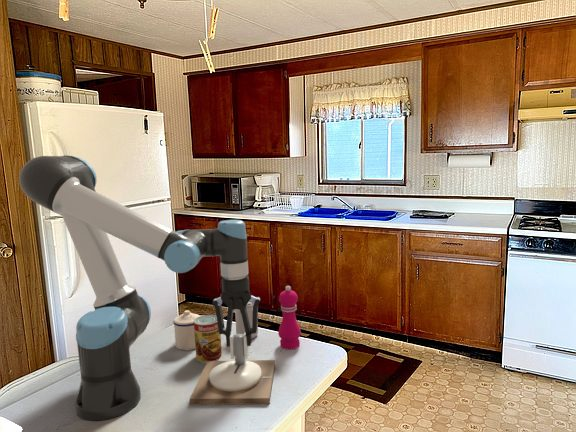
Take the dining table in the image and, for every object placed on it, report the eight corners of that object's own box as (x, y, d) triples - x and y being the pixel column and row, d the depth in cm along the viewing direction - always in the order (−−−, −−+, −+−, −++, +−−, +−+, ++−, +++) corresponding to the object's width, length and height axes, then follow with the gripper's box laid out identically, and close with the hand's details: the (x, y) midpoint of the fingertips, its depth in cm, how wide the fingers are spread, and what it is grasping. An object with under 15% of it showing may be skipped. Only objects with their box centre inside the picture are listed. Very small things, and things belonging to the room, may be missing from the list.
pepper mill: (299, 351, 134) (297, 289, 131) (276, 349, 135) (274, 288, 133) (302, 341, 141) (301, 282, 138) (281, 340, 142) (279, 282, 140)
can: (249, 342, 142) (247, 307, 140) (231, 337, 146) (230, 304, 144) (262, 334, 148) (261, 300, 146) (245, 330, 152) (243, 297, 150)
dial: (255, 392, 108) (253, 357, 107) (202, 390, 110) (200, 355, 109) (265, 366, 122) (264, 334, 120) (218, 364, 124) (216, 333, 122)
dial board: (190, 404, 107) (189, 398, 106) (207, 365, 126) (207, 360, 126) (269, 403, 106) (269, 397, 106) (275, 364, 126) (274, 359, 125)
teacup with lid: (204, 348, 138) (202, 314, 137) (175, 352, 136) (172, 317, 134) (201, 334, 150) (199, 302, 148) (174, 338, 147) (172, 305, 146)
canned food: (204, 365, 127) (201, 326, 125) (191, 356, 133) (188, 319, 131) (226, 356, 132) (224, 319, 130) (213, 348, 138) (211, 313, 136)
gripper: (265, 271, 121) (269, 349, 124) (209, 273, 122) (214, 351, 125) (262, 279, 113) (267, 362, 117) (202, 280, 114) (208, 363, 117)
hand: (239, 356), depth 121 cm, fingers open, 3 cm apart
